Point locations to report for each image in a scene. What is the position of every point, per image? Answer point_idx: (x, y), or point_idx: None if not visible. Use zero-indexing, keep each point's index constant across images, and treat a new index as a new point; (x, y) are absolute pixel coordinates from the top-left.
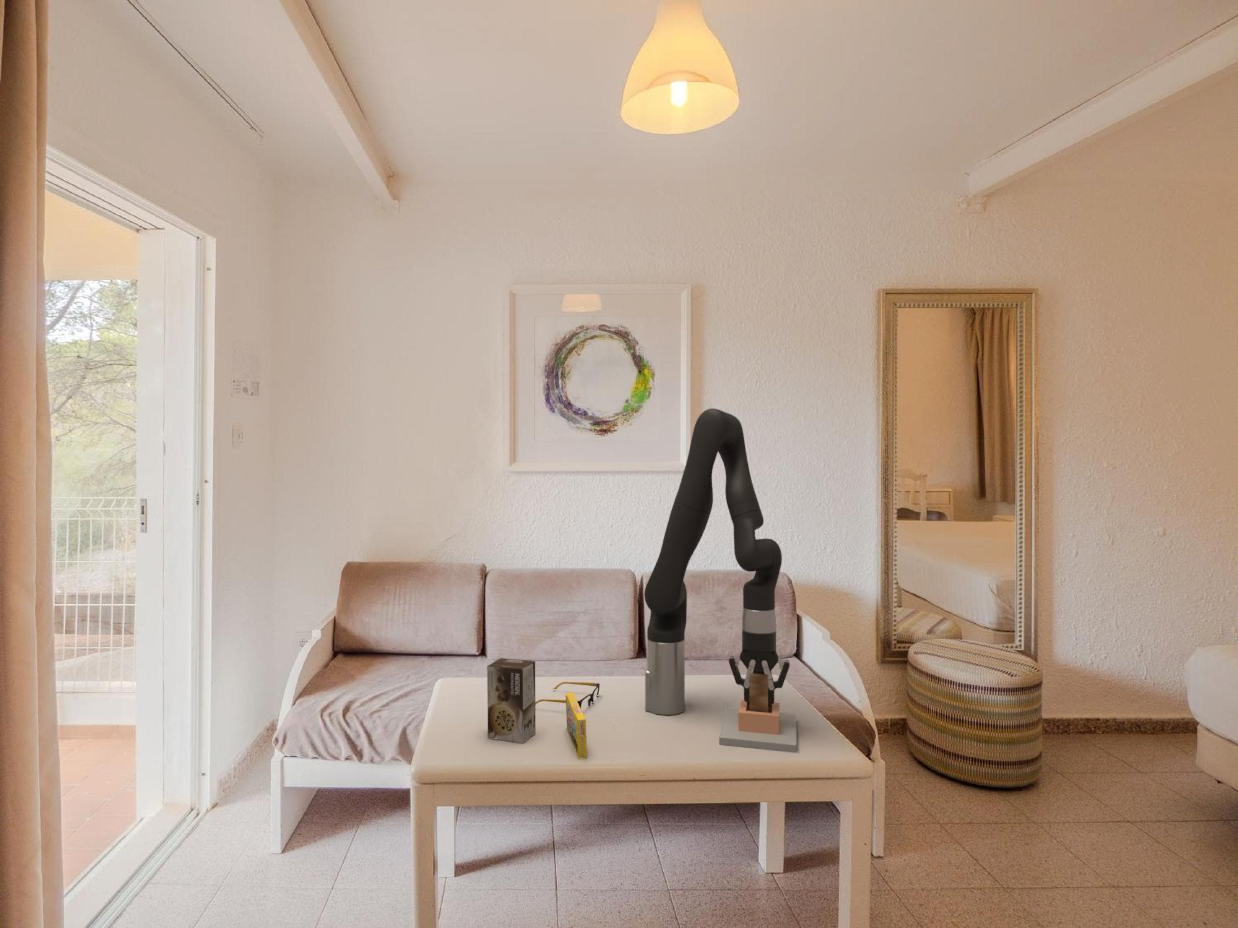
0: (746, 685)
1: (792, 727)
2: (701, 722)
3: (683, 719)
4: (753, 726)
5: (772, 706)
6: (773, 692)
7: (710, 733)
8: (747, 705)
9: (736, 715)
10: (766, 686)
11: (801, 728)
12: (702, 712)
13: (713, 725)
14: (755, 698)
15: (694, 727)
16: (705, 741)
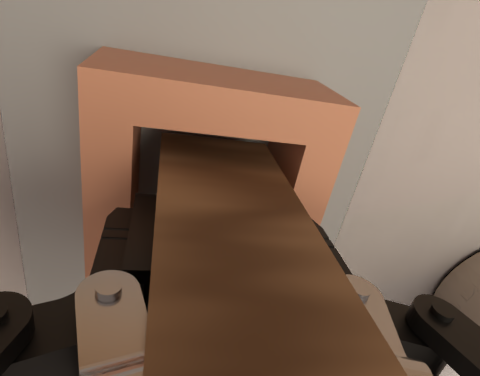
0: (359, 289)
1: (29, 160)
2: (412, 207)
3: (464, 221)
4: (249, 74)
5: None
6: (98, 268)
7: (412, 107)
8: None
9: None
10: (166, 274)
11: (4, 217)
12: (382, 285)
13: (377, 188)
14: (258, 202)
15: (453, 158)
16: (463, 9)
